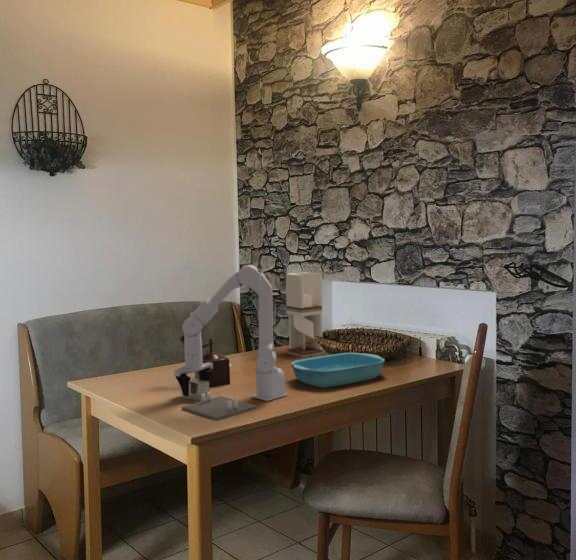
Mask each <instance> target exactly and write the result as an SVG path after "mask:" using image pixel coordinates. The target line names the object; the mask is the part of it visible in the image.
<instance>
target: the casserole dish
mask: <svg viewBox="0 0 576 560" xmlns="http://www.w3.org/2000/svg"><path fill="white" fill-rule="evenodd" d="M385 361H386V360H385V358H384V357H381V356H380V355H376V354H370V353H361V352H360V353H359V352H343V353H342V352H341V353H335V354H334V353H333V354H328V355H323V356H322V355H320V356H313V357H307V358H301V359H299V360H298V359H296V360H294V361H292V362H291V363H290V364H291V367H292V370H293V373H294V376H295V377H296V379H297V380H298V381H299V382H301V383H304V384H306V385H311V386H313V387H317V388H333V387H338V386H345V385H350V384H354V383H355V384H356V383H360V382H364V381H369V380H374V379H376V378H378V377H379V376H380V374H381V372H382V369H383V368H384V364H385Z"/></svg>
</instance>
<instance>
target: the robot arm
mask: <svg viewBox="0 0 576 560" xmlns="http://www.w3.org/2000/svg"><path fill="white" fill-rule="evenodd" d="M242 286H245V287H247V288H250V289H251V290H252V291H253V292H255V293H256V294H257V295H258V296H257V299H258V301H257V303H258V354H257V357H256V359H255V366H256V368H255V385H256V386H255V390H256V392H255V393H254V394H252V395H250V397H251V398H254V399H258V400H261V401H266V402H269V401H272V400H276V399H278V398H281V397H286V396H288V393H286V376H285V373H284V371H283V370H282V368H279V367H277V366H276V362H277V358H278V356H277V353H276V351H275V348H274V347H275V346H274V345H275V344H274V320H273V318H274V316H273V315H274V313H273V310H274V308H273V306H274V305H273V298H274V297H273V286H272V284H271V283H270V282H269V280H268V278H267V277H266V275H265V274H264V272H263V270H262V269H260V268H258V267H257V266H256V265H254V264H246V265H244V266H243V267H241V268H240V269H239V270H238V271H237V272H235V273H234V274H233V275H232V276H230V277H229V278H228V279H227V280H226V281H225V283H224V284H223V285H222V286H221V287H220V288H219V289H218V291H217V292H215V293H214V295H213V296H212V298H209V299H208V298H207V299H204V300H201V301H200V302H199V303H198V306H197V308H196V309H195V310H194V311H193V312H190V314H189V317H188V318H186V319H184V321H183V323H182V326H181V329H182V331H183V333H184V334H183V335H184V337H185V340H184V344H183V348H184V347H185V348H184V366H182V367H179V368H176V369H174V372H173V373H174V375H173V376H174V377H175V379H176V381H177V382H178V384H179V387H180V386H181V389H182V393H183V396H186V397H187V396H189V382H190V378H192V377H191V376H188V375H189V374H192V373H195V372H197V371H198V373H199V377H200V380H205V381H209V379H210V377H211V375H212V373H213V370H210V369H213V363H211V362H207V363H203V362H202V355H203V348H202V345H203V340H202V330H203V327H204V326H206V325H207V324H208V323H209V321H211V320H212V318H213V317H214V316H215V315H216V314H217V313H218V312H219V305H220V304H221V303H222V301H224V299H226V298H227V297H228V295H230V294H231V292H233V290H235V289H239V288H241V287H242Z"/></svg>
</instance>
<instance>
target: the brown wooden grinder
mask: <svg viewBox="0 0 576 560" xmlns="http://www.w3.org/2000/svg"><path fill="white" fill-rule="evenodd" d="M179 337H180V338H179V341H180V343H181V344H182V345H184V340H185V337H184V334H182V335H181V336H179ZM208 341H209V342H208V343H206V344H202V349H203V348H207V347H208V346H209V350H206V352H204V354H202V362H203V363H207V362H211V363H213V369H210V370H213V373H212V375H211V377H210V379H209V388H212V387H220V386H226V385H231V370H230V369H231V367H230V366H229V364H230V358H228V357H226V356H225V355H223V354H221V353H219V352H218V353H217V352H215V351H213V344H214V343H213V341H214V340H213V338H212V337H209V338H208ZM183 349H185V347H184V346H183ZM194 378H196V379H200V377H199V373H198V371H197V372H194Z"/></svg>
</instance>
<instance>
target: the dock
mask: <svg viewBox="0 0 576 560" xmlns="http://www.w3.org/2000/svg"><path fill="white" fill-rule="evenodd" d="M211 393H212V392H211V391H210V392H207V400H205V394H201V402H200V401H197V402H195V403H191V404H188V405H183V406H181V410H182V411H187V412H189V413H192V414H196V415H199V416H202V417H205V418H208V419H211V418H212V419H211V420H214V419H215V421H219V420H222V419H225V418H229V417H232V415H233V416H235V415H236V416H237V415H239V414H242V413H245V411H246V412H248V411H252V410H255V409H257V408H258V406H257V405H256V404H252V403H248V402H245V401H240V400H239V399H237V398H235V399H234V398H229V397H226V396H222V395H221V396H217V397H213V398H212V394H211Z"/></svg>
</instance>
